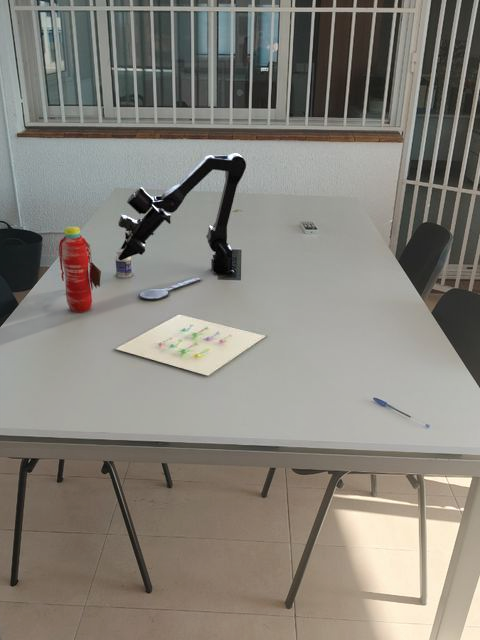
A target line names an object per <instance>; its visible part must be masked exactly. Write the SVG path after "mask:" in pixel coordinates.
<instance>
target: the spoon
mask: <svg viewBox="0 0 480 640" xmlns="http://www.w3.org/2000/svg"><path fill="white" fill-rule="evenodd" d="M199 282H201V278H200V277H193V278H189V279H187V280H184V281H182V282H179V283H176V284H173V285H170V286H169V287H166V288H150V289H147V290H144V291H142V292H140V293H139V298H140V299H141V300H143V301H146V302H157V301H161V300H163V299H166V298H168V297H169V293H170V292H173V291H176V290H179V289H182V288H185V287H188V286H191V285H193V284H196V283H199Z"/></svg>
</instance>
